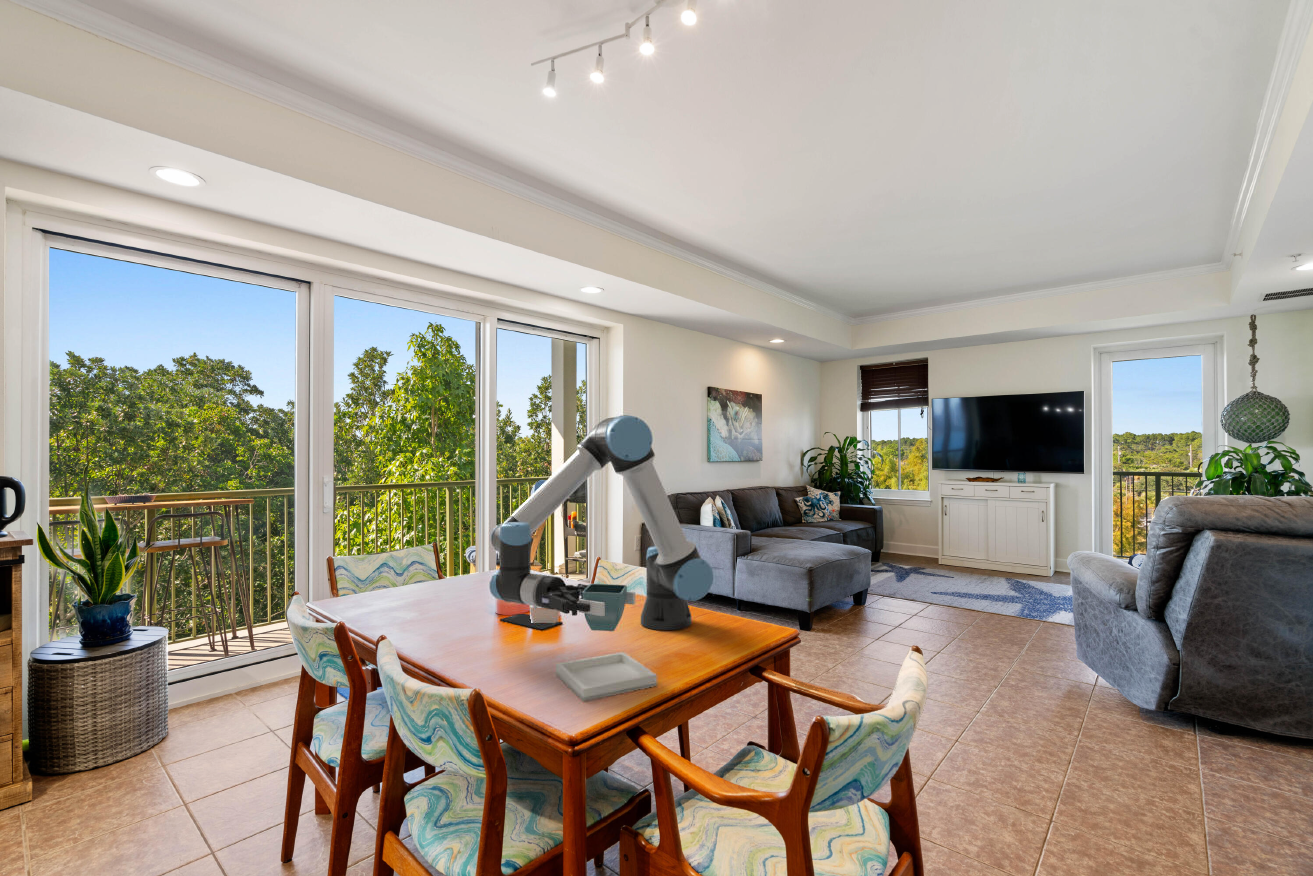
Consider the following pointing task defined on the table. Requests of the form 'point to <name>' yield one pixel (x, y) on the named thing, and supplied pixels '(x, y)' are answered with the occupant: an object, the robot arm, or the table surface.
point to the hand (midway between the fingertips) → (619, 603)
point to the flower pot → (606, 605)
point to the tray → (605, 676)
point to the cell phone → (528, 622)
